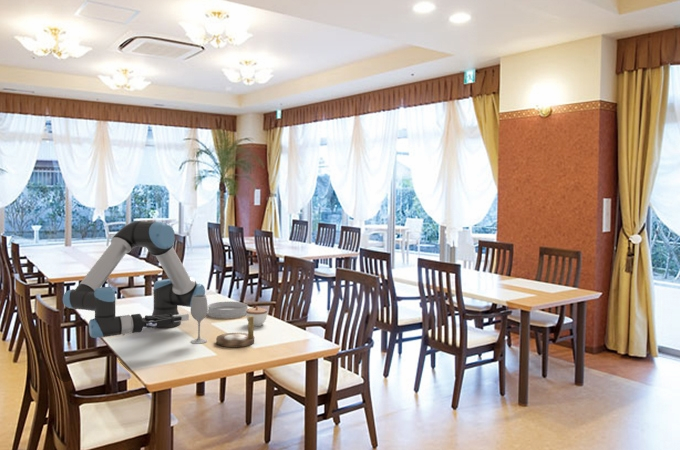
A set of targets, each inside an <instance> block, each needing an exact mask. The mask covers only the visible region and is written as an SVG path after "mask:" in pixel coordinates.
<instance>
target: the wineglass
mask: <svg viewBox="0 0 680 450" xmlns="http://www.w3.org/2000/svg"><path fill="white" fill-rule="evenodd" d="M207 299H208V298H207V295H206V294H205V295H194V296H193V297H192V302H191V307H190V315H191V317H192V318H193V319H194V320H195V321H196V322H197V329H198V330H197V331H198V332H197V335H198V336H197V338H195V339H191V340H190V343H191V344H194V345H199V344H205V343H208V341H207V339H205V338H201V336H200V335H201V322H202V321H203V320H204V319H205V318H206V317H207V315H208V306H209V305H208V304H209V303H208V300H207Z"/></svg>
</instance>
